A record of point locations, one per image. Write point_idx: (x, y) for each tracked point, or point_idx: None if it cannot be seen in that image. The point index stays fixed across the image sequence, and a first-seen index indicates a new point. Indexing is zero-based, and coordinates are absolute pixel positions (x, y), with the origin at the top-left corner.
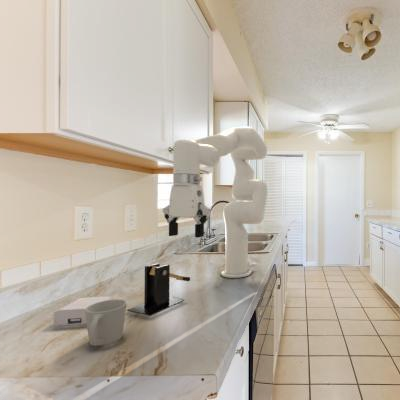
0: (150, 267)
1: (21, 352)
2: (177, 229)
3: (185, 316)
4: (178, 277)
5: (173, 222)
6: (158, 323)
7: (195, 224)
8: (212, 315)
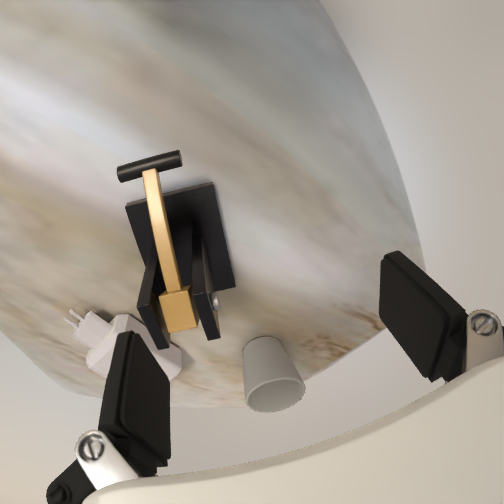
0: (165, 333)
1: (194, 400)
2: (132, 369)
3: (289, 227)
4: (162, 197)
5: (147, 455)
6: (268, 279)
7: (431, 381)
8: (341, 188)
